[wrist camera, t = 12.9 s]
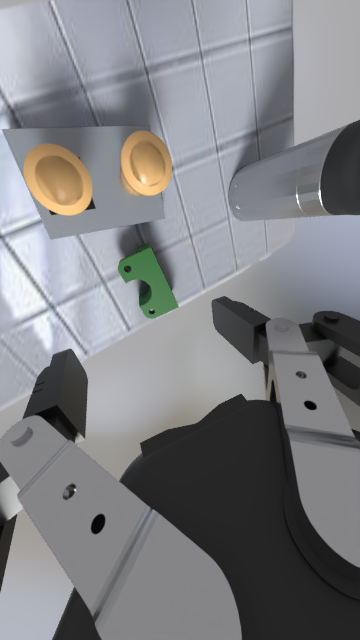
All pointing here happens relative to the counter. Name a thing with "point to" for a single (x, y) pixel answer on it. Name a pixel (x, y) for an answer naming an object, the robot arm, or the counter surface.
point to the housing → (104, 174)
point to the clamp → (149, 281)
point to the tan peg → (58, 179)
